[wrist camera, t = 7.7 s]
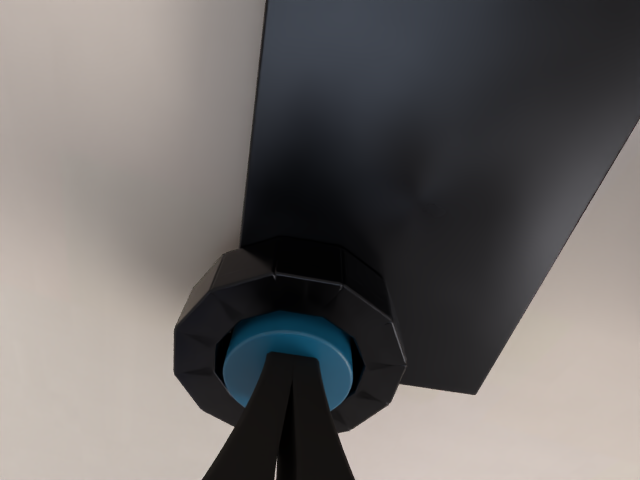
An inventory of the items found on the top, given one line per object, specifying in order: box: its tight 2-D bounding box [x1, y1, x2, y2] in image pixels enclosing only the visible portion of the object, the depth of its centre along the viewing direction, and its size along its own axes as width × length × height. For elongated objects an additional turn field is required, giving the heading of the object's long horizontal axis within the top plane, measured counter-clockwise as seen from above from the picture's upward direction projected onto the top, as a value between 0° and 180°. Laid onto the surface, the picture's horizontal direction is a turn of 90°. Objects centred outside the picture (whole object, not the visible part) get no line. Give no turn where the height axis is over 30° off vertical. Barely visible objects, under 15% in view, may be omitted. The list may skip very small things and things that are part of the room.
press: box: [173, 0, 640, 433], centre depth 11 cm, size 15×10×4 cm, turn 169°
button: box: [223, 311, 353, 411], centre depth 12 cm, size 4×4×2 cm
